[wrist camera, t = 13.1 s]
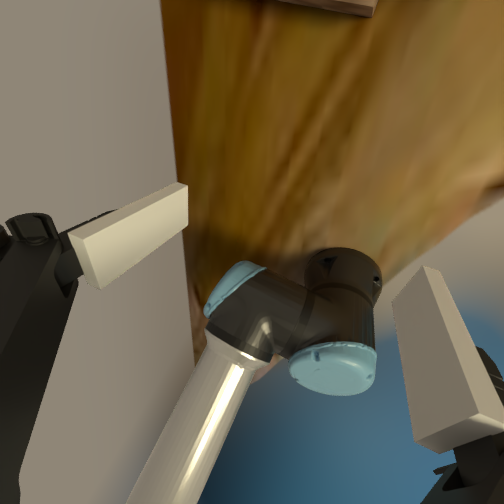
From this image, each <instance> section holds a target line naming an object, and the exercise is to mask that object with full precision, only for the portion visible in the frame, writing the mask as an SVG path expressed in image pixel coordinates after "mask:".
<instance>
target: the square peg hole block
mask: <svg viewBox="0 0 504 504" xmlns="http://www.w3.org/2000/svg"><path fill="white" fill-rule="evenodd" d="M277 1H283V2H288V3H294V4H299V5H304V6H310V7H315V8H321V9H326V10H332V11H337V12H342V13H348V14H353V15H359V16H364V17H370V18H372V16H373V14H374V11H375V8H376V5H377V3H378V0H277Z"/></svg>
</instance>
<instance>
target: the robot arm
mask: <svg viewBox="0 0 504 504" xmlns="http://www.w3.org/2000/svg"><path fill="white" fill-rule="evenodd" d="M5 223H6V225H7V227H8V229H9V230H10V232H11V234H12V235H13V236H10V235H8V234H7V232H6V230H5V229H4V227H3V226H1V225H0V504H20V487H19V473H20V468H21V465H22V462H23V459H24V455H25V452H26V449H27V446H28V443H29V440H30V437H31V433H32V430H33V427H34V424H35V421H36V418H37V414H38V411H39V408H40V405H41V402H42V398H43V395H44V392H45V389H46V386H47V383H48V379H49V376H50V373H51V370H52V367H53V364H54V361H55V357H56V354H57V351H58V348H59V345H60V342H61V339H62V335H63V332H64V329H65V326H66V323H67V320H68V316H69V313H70V310H71V307H72V303H73V301H74V297H75V294H76V291H77V288H78V279H77V278H78V277H80V276H81V275H83V274H84V276H85V279H86V281H87V284H89V285H91V286H93V287H95V288H97V289H99V290H102V289H103V288H105V287H106V286H107V285H108V284H110V283H111V282H113V281H114V280H115V279H117V278H118V277H119V276H121V275H122V274H123V273H125V272H126V271H127V270H129V269H130V268H131V267H133V266H134V265H135V264H137V263H138V262H139V261H141V260H142V259H143V258H145V257H146V256H147V255H149V254H150V253H151V252H153V251H154V250H155V249H157V248H158V247H159V246H161V245H162V244H163V243H165V242H166V241H167V240H169V239H170V238H171V237H173V236H174V235H175V234H177V233H178V232H180V231H181V230H182V229H184V228H185V227H186V226H188V186H187V185H184V184H181V183H178V182H176V183H174V184H172V185H170V186H167V187H165V188H163V189H161V190H159V191H156V192H154V193H152V194H150V195H148V196H146V197H144V198H141V199H139V200H137V201H135V202H133V203H131V204H128V205H126V206H124V207H122V208H120V209H116V210H112V211H108V212H105V213H103V214H101V215H99V216H98V217H94V218H92V219H90V220H89V221H85V222H83V223H81V224H79V225H76V226H74V227H72V228H70V229H68V230H66V231H63V232H61V233H59V234H58V232H57V230H56V227H55V225H54V223H53V220H52V218H51V217H50V216H49V215H47V214H43V213H26V214H22V215H17V216H15V217H13V218H10V219H9V220H7V221H6V222H5ZM304 280H305V287H306V288H305V287H303V286H301V285H299V284H297V283H295V282H293V281H291V280H289V279H287V278H284V277H282V276H280V275H278V274H276V273H274V272H272V271H270V270H268V269H267V267H262V266H259V265H257V264H254V263H252V262H250V261H240V262H238V263H236V264H235V265H234V266H233V267H231V268H230V269H229V270H228V271H227V273H226V274H225V275H224V276H223V277H222V279H221V280H220V281H219V283H218V284H217V285H216V287H215V288H214V290H213V291H212V293H211V295H210V296H209V299H208V302H207V303H206V305H205V307H204V315H205V316H206V318H208V319H210V320H209V322H208V324H207V326H206V327H205V329H204V330H205V334H206V338H207V346H206V348H205V350H204V352H203V354H202V356H201V358H200V360H199V362H198V364H197V365H196V367H195V369H194V371H193V373H192V375H191V377H190V379H189V381H188V383H187V385H186V387H185V389H184V391H183V393H182V395H181V397H180V398H179V400H178V403H177V404H176V407H175V408H174V410H173V412H172V414H171V416H170V418H169V420H168V422H167V424H166V426H165V428H164V430H163V432H162V433H161V435H160V437H159V439H158V441H157V443H156V445H155V447H154V449H153V451H152V453H151V455H150V457H149V459H148V461H147V463H146V464H145V466H144V469H143V470H142V472H141V474H140V476H139V478H138V480H137V482H136V484H135V486H134V488H133V490H132V492H131V494H130V496H129V498H128V500H127V501H126V503H125V504H197V502H198V499H199V497H200V495H201V493H202V490H203V488H204V486H205V484H206V481H207V479H208V477H209V475H210V472H211V470H212V468H213V466H214V463H215V461H216V459H217V456H218V454H219V452H220V449H221V447H222V445H223V443H224V441H225V438H226V436H227V434H228V432H229V429H230V427H231V424H232V423H233V420H234V418H235V416H236V413H237V411H238V409H239V407H240V404H241V402H242V400H243V398H244V395H245V393H246V391H247V389H248V386H249V384H250V382H251V380H252V377H253V375H254V373H255V371H256V370H257V369H258V368H261V367H264V366H266V365H269V363H270V361H271V359H272V357H273V354H274V353H277V354H278V355H280V356H282V357H284V358H286V359H288V360H289V361H288V366H289V372H290V375H291V376H292V377H293V378H295V380H296V381H297V382H298V383H299V384H301V385H302V386H304V387H306V388H308V389H311V390H313V391H317V392H319V393H323V394H328V395H337V396H338V395H340V396H345V395H346V396H348V395H354V394H358V393H361V392H363V391H365V390H367V389H368V388H369V387H370V386H371V385H372V383H373V381H374V378H375V367H376V359H377V354H376V352H375V335H374V334H375V333H374V314H373V308H374V306H375V304H376V302H377V300H378V298H379V296H380V293H381V290H382V275H381V271H380V269H379V267H378V265H377V264H376V263H375V262H374V261H373V260H372V259H371V258H370V257H368V256H367V255H365V254H363V253H361V252H359V251H356V250H353V249H347V248H333V249H328V250H325V251H322V252H320V253H318V254H317V255H315V256H314V257H313V258H312V259H311V260H310V262H309V263H308V265H307V268H306V272H305V277H304ZM392 307H393V313H394V319H395V326H396V332H397V337H398V344H399V351H400V356H401V363H402V369H403V375H404V381H405V387H406V393H407V400H408V406H409V412H410V418H411V424H412V430H413V437H414V442H416V443H418V444H420V445H422V446H424V447H426V448H428V449H430V450H432V451H434V452H436V453H438V454H441V453H443V452H447V451H450V450H452V449H453V450H454V454H455V458H456V461H457V463H453V464H450V465H447V466H443V467H440V468H437V469H435V470H433V472H434V473H435V474H436V475H438V474H442V473H443V475H442V476H441V477H440V479H439V480H438V481H437V483H436V484H435V485H434V487H433V488H432V489H431V491H430V492H429V493H428V494H427V496H426V497H425V498H424V500H423V501H422V502H421V503H420V504H504V382H503V381H502V380H503V378H502V376H501V374H500V372H499V370H498V368H497V366H496V364H495V363H494V362H493V360H491V358H490V357H489V356H488V355H487V353H486V352H485V351H484V350H483V349H482V348H479V347H476V346H475V345H474V343H473V341H472V339H471V337H470V334H469V332H468V330H467V328H466V326H465V324H464V322H463V320H462V318H461V315H460V313H459V311H458V309H457V307H456V305H455V303H454V301H453V298H452V297H451V294H450V292H449V290H448V288H447V286H446V283H445V281H444V279H443V277H442V275H441V273H440V271H438V270H435V269H432V268H429V267H426V266H422V267H421V268H420V269H419V270H418V272H417V273H416V274H415V275H414V276H413V277H412V279H411V280H410V281H409V282H408V283H407V284H406V286H405V287H404V288H403V289H402V290H401V292H400V293H399V294H398V295H397V296H396V298H395V299H394V300H393V301H392Z"/></svg>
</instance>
